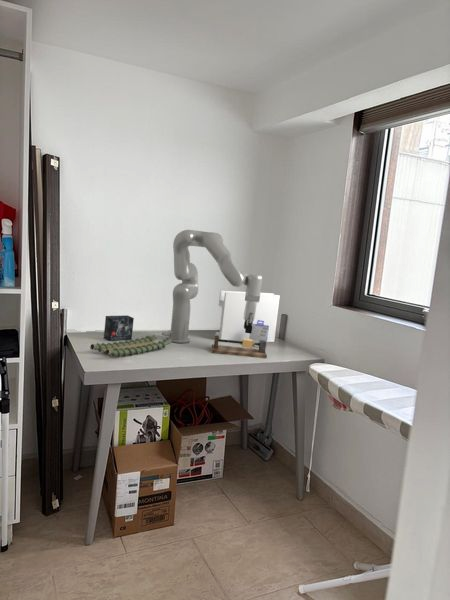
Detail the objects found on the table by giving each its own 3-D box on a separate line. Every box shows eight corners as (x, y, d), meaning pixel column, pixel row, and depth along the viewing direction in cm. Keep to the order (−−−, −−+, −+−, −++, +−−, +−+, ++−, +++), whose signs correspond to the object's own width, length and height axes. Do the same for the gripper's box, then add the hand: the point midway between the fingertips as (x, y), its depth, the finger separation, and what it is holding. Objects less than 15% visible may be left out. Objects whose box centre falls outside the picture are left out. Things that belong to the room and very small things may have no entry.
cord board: (211, 352, 234) (213, 338, 233) (211, 347, 246) (212, 333, 245) (266, 358, 236) (268, 343, 235) (263, 352, 248) (265, 338, 247)
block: (220, 341, 262) (226, 292, 258) (215, 338, 269) (220, 290, 265) (274, 341, 277) (280, 295, 273) (267, 338, 284) (273, 293, 280)
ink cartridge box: (266, 346, 262) (269, 321, 260) (265, 348, 257) (268, 322, 255) (249, 343, 264) (252, 318, 262) (248, 345, 259) (251, 320, 257)
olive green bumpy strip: (109, 361, 202) (109, 350, 201) (88, 353, 210) (88, 343, 210) (172, 349, 235) (173, 339, 234) (152, 342, 243) (153, 333, 242)
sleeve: (242, 346, 239) (243, 340, 238) (241, 345, 242) (242, 338, 242) (251, 347, 239) (252, 340, 239) (251, 346, 243) (252, 339, 242)
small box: (109, 341, 235) (111, 318, 233) (103, 338, 240) (104, 315, 238) (132, 340, 244) (134, 317, 242) (125, 336, 249) (127, 315, 247)
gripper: (243, 295, 246) (239, 326, 248) (246, 300, 229) (241, 333, 231) (257, 296, 246) (253, 328, 249) (261, 302, 229) (256, 335, 231)
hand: (247, 330), depth 240 cm, fingers open, 9 cm apart
